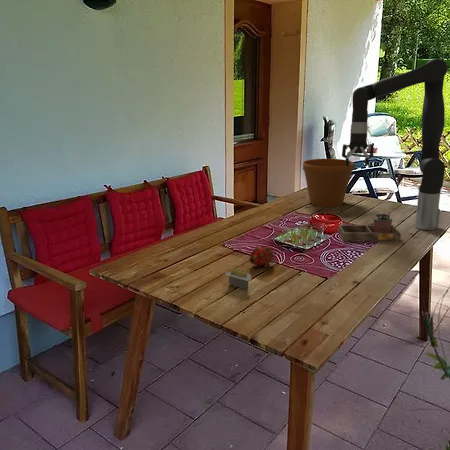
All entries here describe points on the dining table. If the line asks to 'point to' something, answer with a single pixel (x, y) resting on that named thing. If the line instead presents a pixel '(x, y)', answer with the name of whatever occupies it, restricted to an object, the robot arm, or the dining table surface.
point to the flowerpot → (327, 180)
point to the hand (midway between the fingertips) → (356, 166)
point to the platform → (238, 278)
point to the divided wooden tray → (366, 233)
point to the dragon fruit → (261, 256)
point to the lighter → (382, 223)
